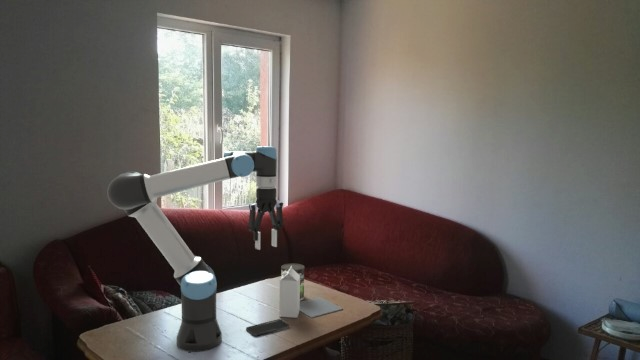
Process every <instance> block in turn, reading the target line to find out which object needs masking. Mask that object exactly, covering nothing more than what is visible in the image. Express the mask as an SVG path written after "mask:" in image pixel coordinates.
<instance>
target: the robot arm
mask: <svg viewBox="0 0 640 360" xmlns="http://www.w3.org/2000/svg"><path fill="white" fill-rule="evenodd" d="M277 161H278V156H277V148H276V147H275V146H269V145H264V146H263V145H261V146H260V145H258V146H257V147H256V149H255V151H237V150H235V151H234V150H232V151H225V152H224V154H223V157H222V158H221V157H220V158H219V159H213V160H209V161H206V162H205V161H204V162H201V163H197V164H192V165H189V166H185V167H181V168H176V169H173V170H168V171H164V172H161V173H155V174H152V175H148V174H146V173H143V174H141V173H139V172H137V171H126V172H123V173H121V174H119V175H118V176H116V177H115V178H113V179H112V180H111V181H110V183H109V184H108V187H107V191H106V194H107V198H108V200H109V202H110V203H111V204H112V205H113V206H114V207H115V208H118V209H119V210H124V212H125V213H126V215H127V216H128V217H131V218H135V219H136V220H137V222H138V223H139V225H140V226H141V227H142V229H143V230H144V231H145V233H146V234H147V235H148V237H149V238H150V240H151V241H152V242H153V244H154V245H155V246H156V247H157V249H158V250H159V251H160V253H161V254H162V256H164V258H165V260H166V261H167V263H168V264H169V265H170V266H171V267H172V269H173V270H174V273H173V277H174V279H175V280H176V282H177V283H178V284H179V286H180V293H181V296H180V297H181V298H180V299H181V300H180V301H181V323H180V325H179V328H178V331H177V335H176V345H177V347H178V348H179V349H181V350H183V351H187V352H202V351H207V350H211V349H213V348H214V349H215V347H217V346H219V345H220V344H221V343H222V341H223V340H222V337H223V336H222V331H221V327H220V325H219V322H218V319H217V287H218V286H217V284H218V283H217V278H216V274H215V272H214V270H213V269H212V268H211V267H210V266H209V265H208V264H206V262H205V261H204V260H203V258H202V257H201V256H197V255H195V254H194V253H193V252H192V250H191V249H190V248H189V246H188V245H187V244H186V242H185V241H184V240H183V238H182V237H181V235H180V234H179V233H178V231H177V230H176V228H175V226H173V224H172V223H171V222H170V220H169V219H168V218H167V216H166V214H165V213H164V212H163V211H162V209H161V207H160V206H159V205H158V204H157V203H158V201H157V200H158V198H161V197H164V196H168V195H169V196H170V195H173V194H176V193H181V192H185V191H187V190H192V189H196V188H199V187H204V186H207V185H210V184H211V185H212V184H216V183H218V182H222V181H227V180H230V179H235V178H239V177H243V178H244V177H248V176H249V175H251V174H252V173H256V180H255V181H256V182H255V185H256V187H257V188H256V189H255V190H256V191H255V197H256V199H255V200H256V201H255V202H254V203H252V204H250V203H249V205H248V209H249V216H248V217H249V219H248V231H249V232H252V233H253V234H252V235H253V237H252V238H253V241H254V242H255V243H254V248H255V250H259V251H260V250H261V231H260V227H261V225H262V221H263V219H264V216H265V213H267V212H268V214H269V218H270V221H271V224H272V227H273V228H271V246H272V247H274V248H277V247H278V238H279V235H280V234H279V232H280V230H281V228H283V227H284V218H283V217H284V215H283V214H284V213H283V207H284V203H283V201H277V188H276V187H277V170H278V169H277V168H278V167H277ZM275 207H276V210H275ZM256 210H257V212H256Z"/></svg>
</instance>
